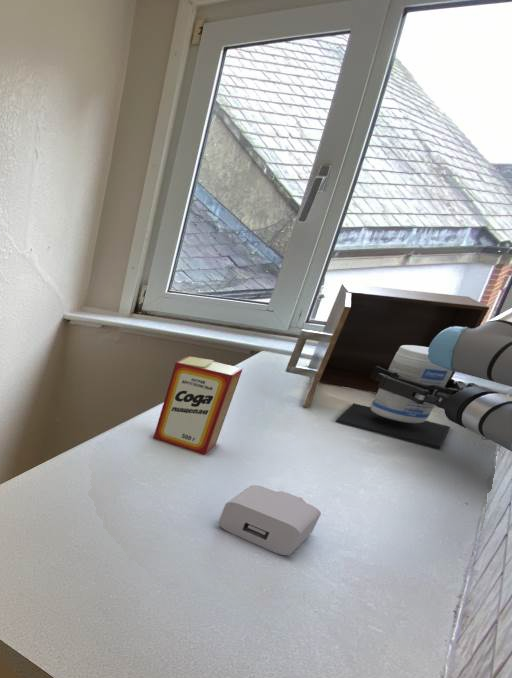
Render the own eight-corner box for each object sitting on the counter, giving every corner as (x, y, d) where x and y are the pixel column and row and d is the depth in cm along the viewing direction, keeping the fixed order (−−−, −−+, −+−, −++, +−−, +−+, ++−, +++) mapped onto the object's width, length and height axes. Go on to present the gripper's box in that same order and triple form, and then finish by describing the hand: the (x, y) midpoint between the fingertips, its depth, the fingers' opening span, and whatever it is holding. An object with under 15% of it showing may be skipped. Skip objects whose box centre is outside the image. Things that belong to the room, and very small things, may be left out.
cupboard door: (273, 400, 132) (312, 302, 121) (283, 376, 150) (317, 289, 139) (308, 407, 128) (350, 307, 118) (314, 382, 146) (351, 293, 136)
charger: (323, 523, 82) (288, 558, 74) (255, 496, 89) (216, 526, 80) (336, 496, 80) (302, 529, 72) (266, 471, 87) (227, 499, 78)
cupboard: (438, 404, 134) (489, 307, 124) (311, 381, 147) (348, 291, 137) (423, 385, 148) (468, 296, 138) (308, 366, 160) (342, 283, 150)
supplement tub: (408, 427, 114) (444, 358, 107) (358, 410, 121) (388, 345, 115) (435, 422, 117) (471, 355, 110) (385, 406, 125) (415, 343, 118)
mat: (439, 449, 109) (440, 446, 109) (335, 421, 121) (336, 419, 120) (448, 429, 120) (450, 426, 119) (352, 405, 131) (353, 403, 131)
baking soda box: (215, 445, 107) (243, 366, 100) (204, 454, 102) (233, 373, 95) (165, 429, 113) (188, 354, 105) (153, 438, 108) (176, 360, 101)
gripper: (406, 424, 103) (337, 385, 123) (542, 437, 100) (448, 395, 120) (426, 386, 99) (351, 353, 119) (567, 398, 96) (466, 362, 116)
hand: (400, 374), depth 119 cm, fingers closed on supplement tub, 9 cm apart
